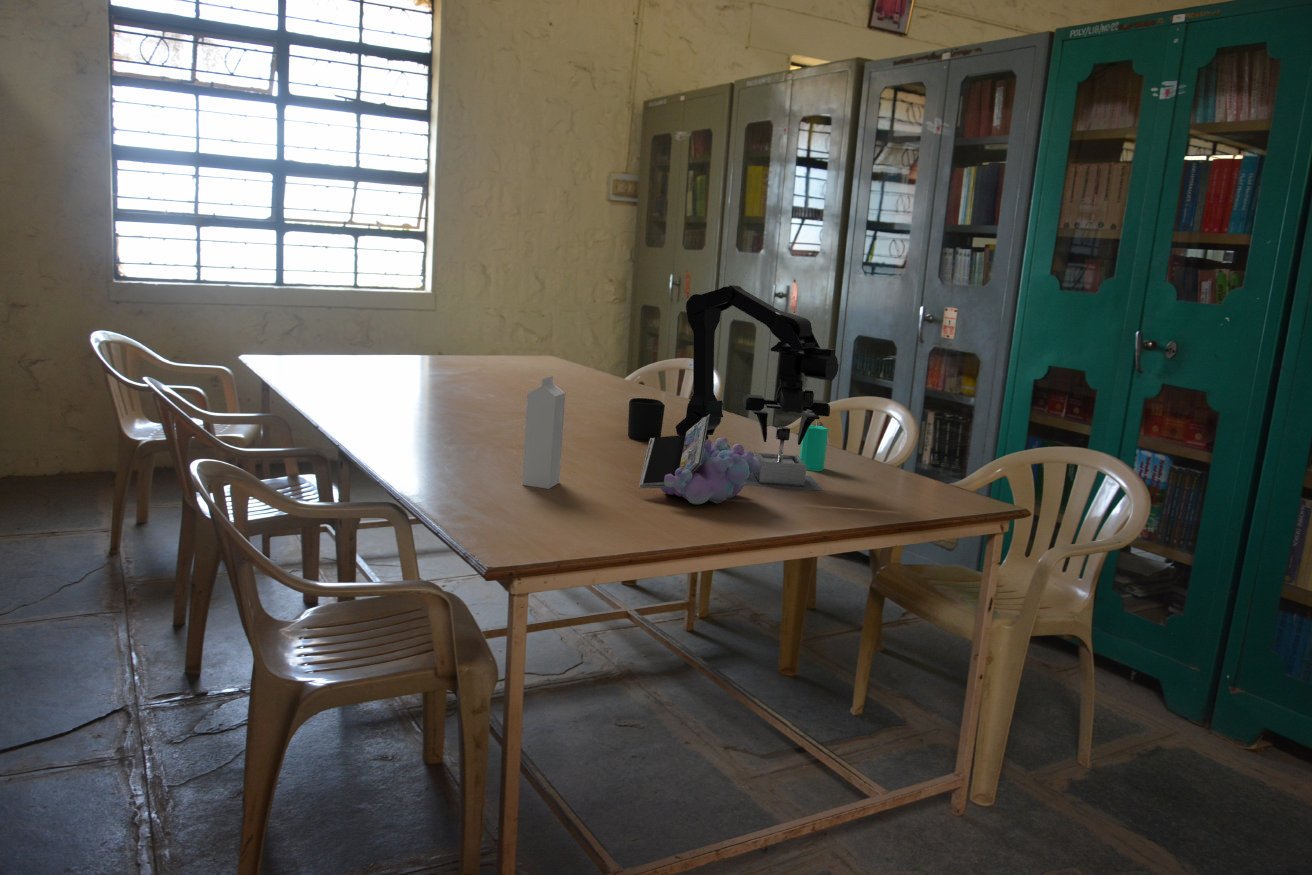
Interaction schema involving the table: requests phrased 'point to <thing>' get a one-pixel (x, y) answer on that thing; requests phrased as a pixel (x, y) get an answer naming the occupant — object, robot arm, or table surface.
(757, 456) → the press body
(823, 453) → the candle
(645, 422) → the pen holder
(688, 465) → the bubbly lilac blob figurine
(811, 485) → the slate mat
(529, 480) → the milk
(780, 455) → the plunger
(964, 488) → the table surface
